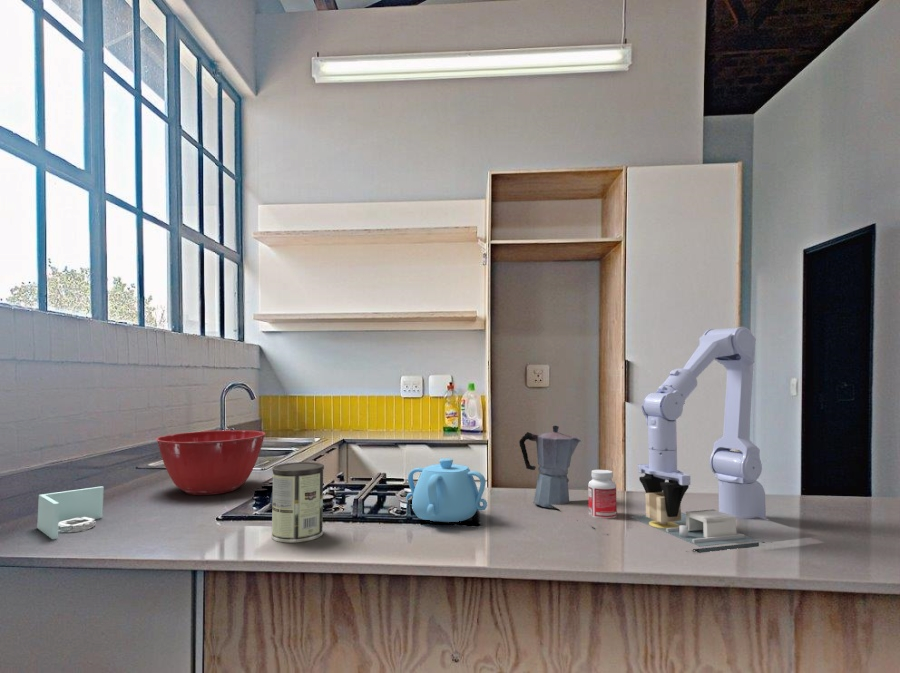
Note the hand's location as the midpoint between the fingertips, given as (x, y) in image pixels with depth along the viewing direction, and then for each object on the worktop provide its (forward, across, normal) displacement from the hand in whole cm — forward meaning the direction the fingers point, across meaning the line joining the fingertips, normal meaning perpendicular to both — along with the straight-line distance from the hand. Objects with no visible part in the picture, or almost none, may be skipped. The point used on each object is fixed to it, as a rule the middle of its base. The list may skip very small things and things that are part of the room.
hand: (663, 513), depth 119 cm
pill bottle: (+4, -11, -8) cm, 14 cm away
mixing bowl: (+4, -69, -97) cm, 119 cm away
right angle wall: (+4, -37, -120) cm, 125 cm away
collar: (+1, 0, 0) cm, 1 cm away
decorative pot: (+4, -22, -42) cm, 48 cm away
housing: (+2, +8, +5) cm, 10 cm away
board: (+4, +3, +4) cm, 6 cm away
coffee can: (+4, -18, -75) cm, 77 cm away
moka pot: (+4, -27, -13) cm, 30 cm away
